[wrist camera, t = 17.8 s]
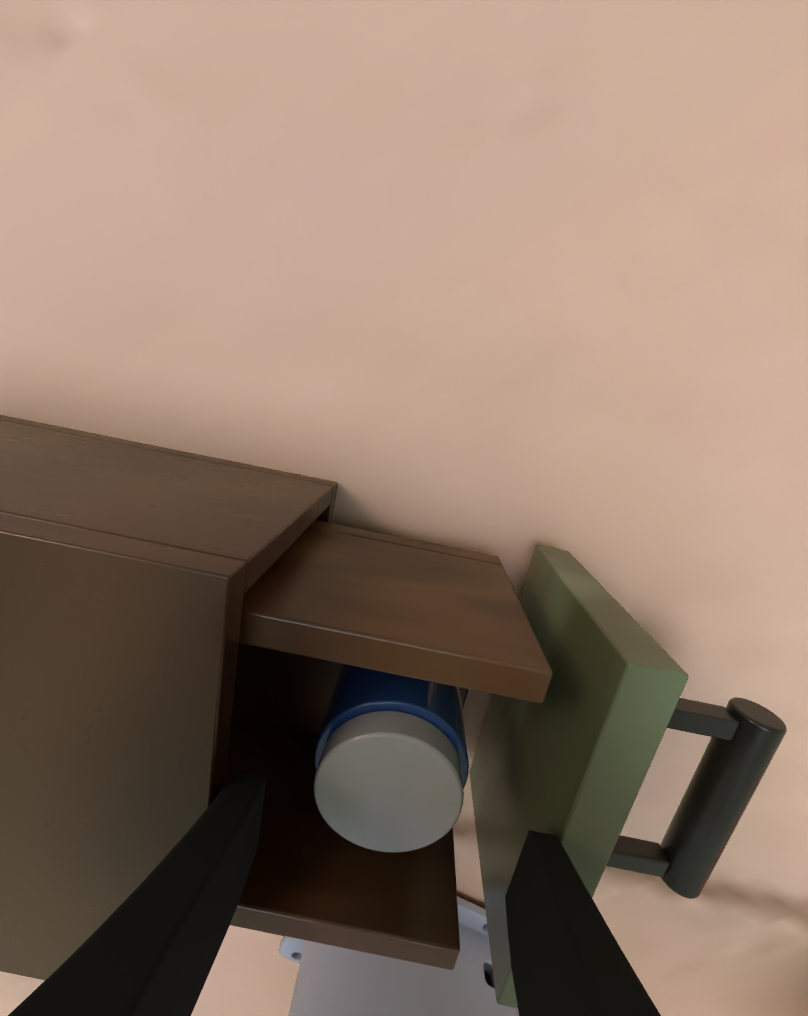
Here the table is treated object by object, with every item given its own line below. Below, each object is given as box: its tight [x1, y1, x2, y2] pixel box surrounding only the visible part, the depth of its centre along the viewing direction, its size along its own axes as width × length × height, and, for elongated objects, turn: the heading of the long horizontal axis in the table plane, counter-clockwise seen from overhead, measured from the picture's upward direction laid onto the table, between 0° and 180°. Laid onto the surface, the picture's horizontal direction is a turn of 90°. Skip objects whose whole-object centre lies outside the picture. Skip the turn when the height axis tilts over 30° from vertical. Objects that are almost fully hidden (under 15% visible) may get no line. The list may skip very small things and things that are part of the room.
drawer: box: [225, 520, 787, 1008], centre depth 12 cm, size 17×10×7 cm, turn 79°
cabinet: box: [0, 415, 337, 980], centre depth 12 cm, size 13×11×8 cm
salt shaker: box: [314, 664, 469, 853], centre depth 12 cm, size 4×4×5 cm
